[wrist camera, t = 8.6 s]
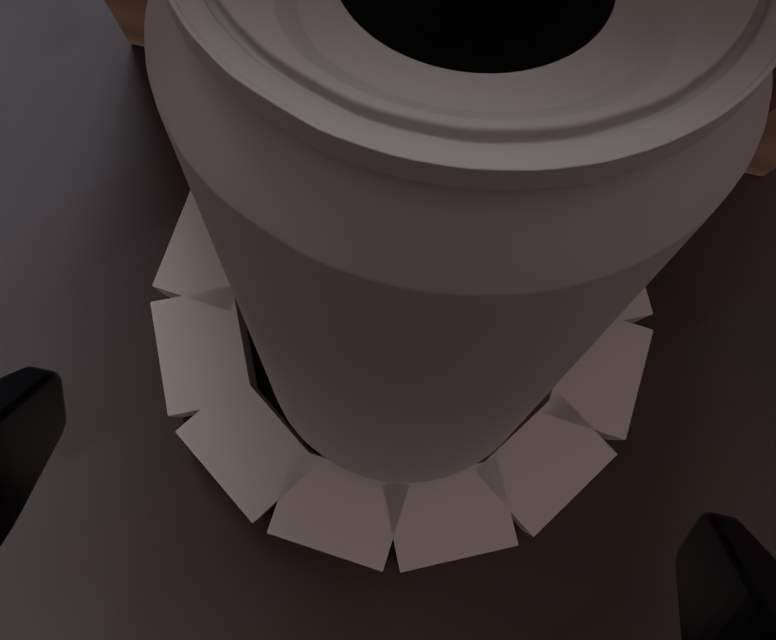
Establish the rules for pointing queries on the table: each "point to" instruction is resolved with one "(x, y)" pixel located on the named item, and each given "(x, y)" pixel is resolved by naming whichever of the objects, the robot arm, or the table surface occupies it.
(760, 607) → the robot arm
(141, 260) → the table surface
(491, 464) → the socket ring
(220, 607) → the table surface
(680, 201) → the beverage can
